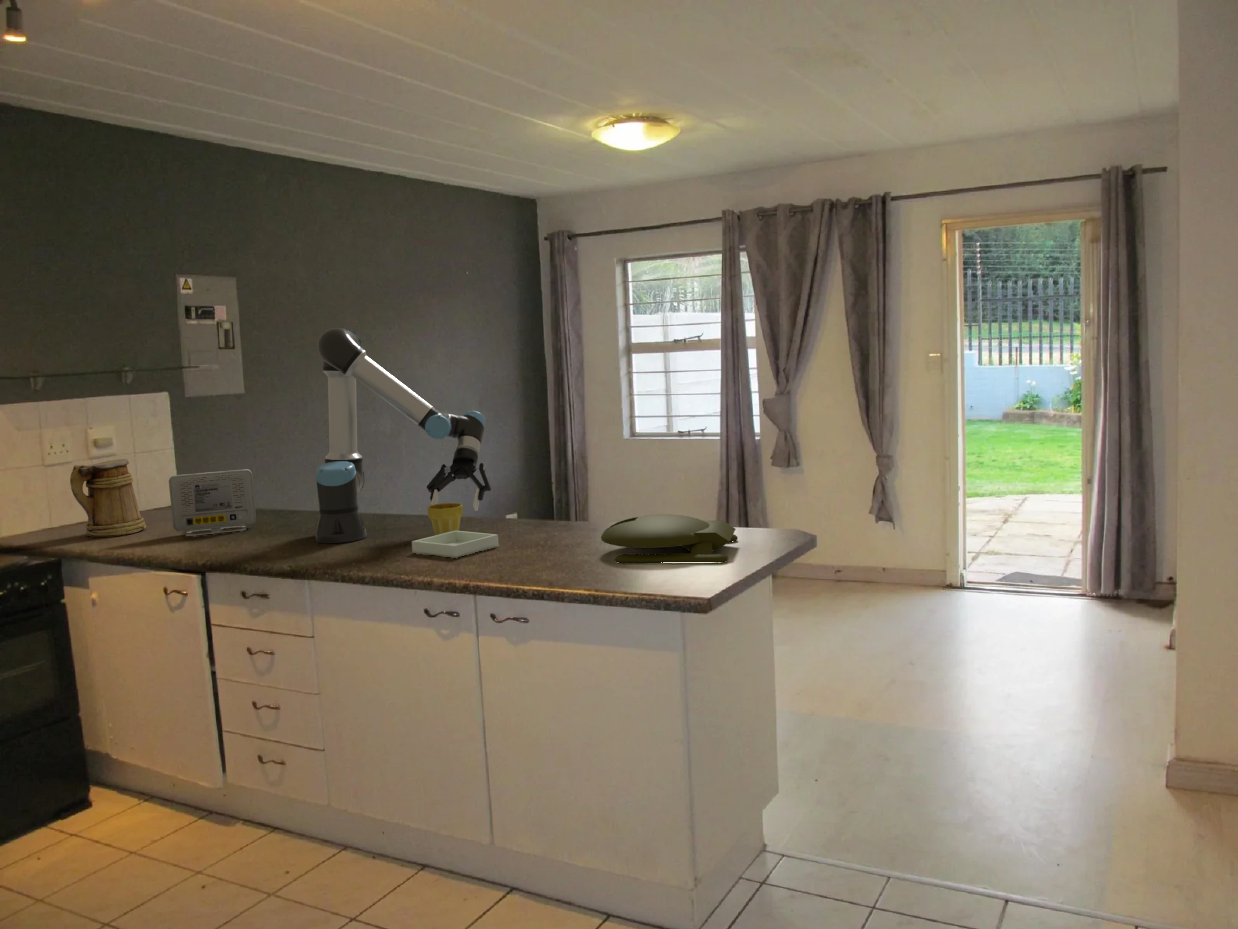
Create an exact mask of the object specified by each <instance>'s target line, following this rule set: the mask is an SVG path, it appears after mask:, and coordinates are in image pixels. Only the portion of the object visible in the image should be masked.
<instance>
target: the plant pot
mask: <svg viewBox="0 0 1238 929" xmlns="http://www.w3.org/2000/svg"><path fill="white" fill-rule="evenodd" d="M463 515H464V510H463V504H462V503H460V502H459V503H458V502H445V503H437V504H435V505H431V504H430V505H429V506H427V516H428V519H430V521H431V524H432V525H431V526H432V529H433V532H434V534H435V535H439V534H443V533H447V532H452V531H460V525H461V520H462V519H461V518H462V517H463ZM435 535H434V536H435Z"/></svg>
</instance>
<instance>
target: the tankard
mask: <svg viewBox="0 0 1238 929" xmlns="http://www.w3.org/2000/svg"><path fill="white" fill-rule="evenodd" d="M128 465H129V460H128V459H127V458H120V459H111V460H106V461H103V462H97V463H93V464H90V465H89V464H88V465H84V464H81V465H76V464H75V465H74V466H73V468H72V471H71V474H70V479H69V480H70V482H69V484H70V490H71V492H72V494H73V497H74V498H75V500H76V502H77V503H78V504H79V505H80V506H81V508H82V509H83V510H84V512H85V514H86V515H87V524H86V525H85V530H86V531H85V535H86V536H88V537H89V536H91V537H90V538H95V537H105V538H114V537H119V536H120V537H121V535H122V536H126V534H127V535H130V534H134V533H138V532H140V531H143V530H145V529H146V528H147V525H146V522H145V520H144V517H143V516H142V515H141V512H140V508H139V505H138V501H137V500H138V499H137V498H136V494H135V489H134V486H133V482H134V479H133V476H132V473H131V472H129V469H128ZM84 483H85V487H86V488H87V495H86V494H85V492H84V490H83V488H84Z"/></svg>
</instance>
